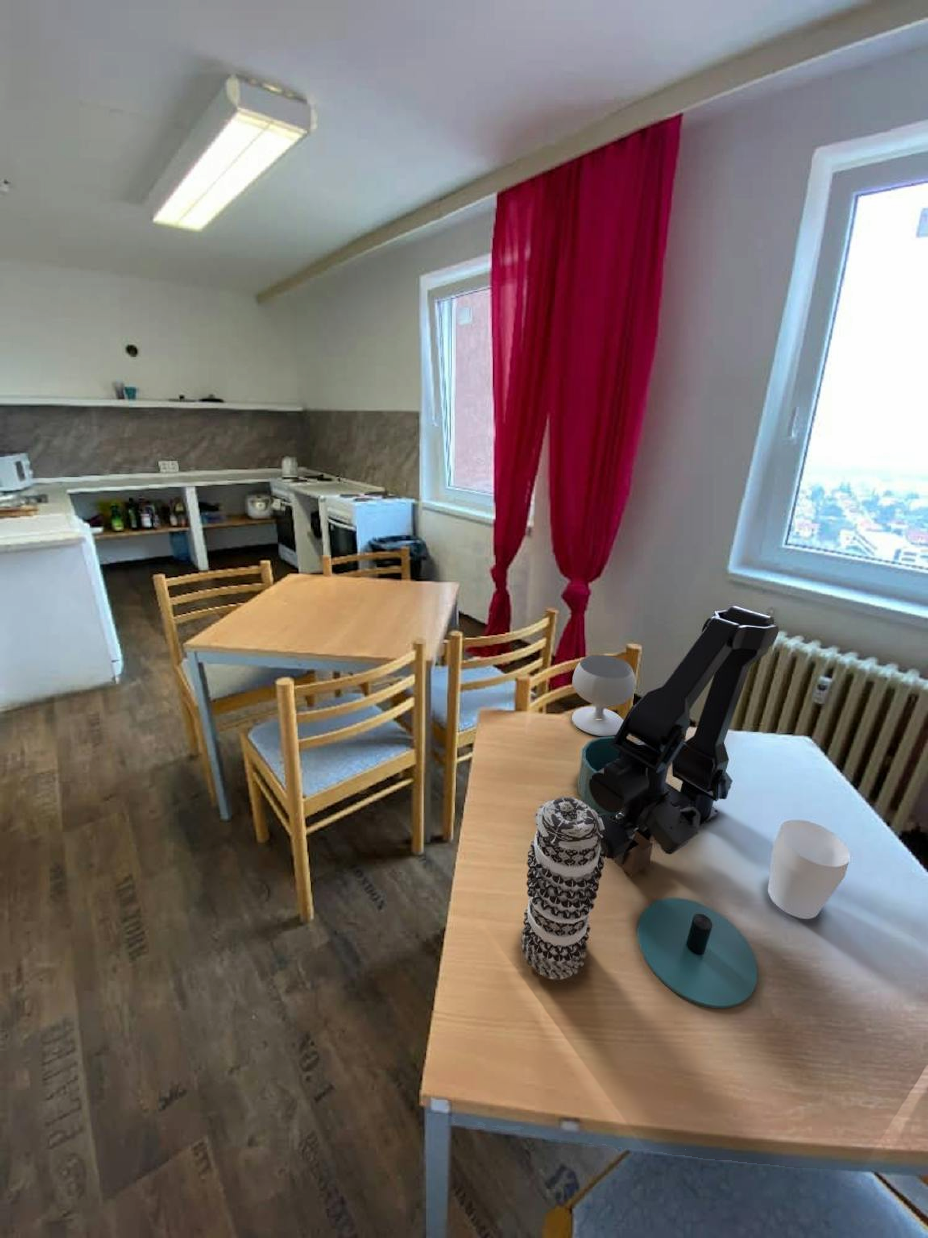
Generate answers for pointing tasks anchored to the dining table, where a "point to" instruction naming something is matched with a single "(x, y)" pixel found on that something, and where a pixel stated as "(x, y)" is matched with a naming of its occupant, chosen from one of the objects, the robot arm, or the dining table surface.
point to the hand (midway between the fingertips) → (629, 856)
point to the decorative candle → (562, 886)
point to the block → (637, 855)
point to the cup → (806, 867)
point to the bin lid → (697, 953)
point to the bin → (595, 768)
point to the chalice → (602, 692)
